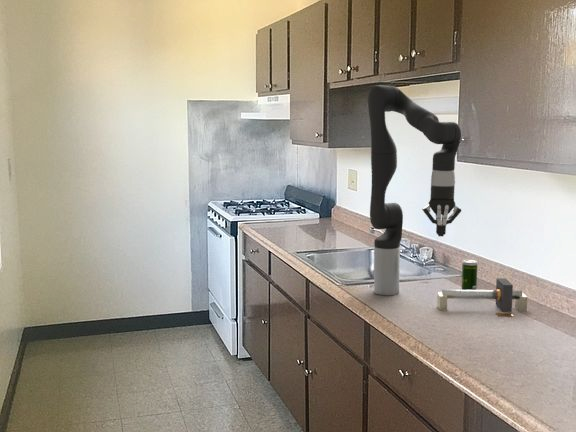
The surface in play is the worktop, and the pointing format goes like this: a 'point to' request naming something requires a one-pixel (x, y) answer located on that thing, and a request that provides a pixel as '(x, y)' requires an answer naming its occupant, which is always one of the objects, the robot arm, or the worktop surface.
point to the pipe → (481, 294)
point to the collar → (504, 294)
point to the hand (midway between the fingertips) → (440, 235)
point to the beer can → (469, 275)
